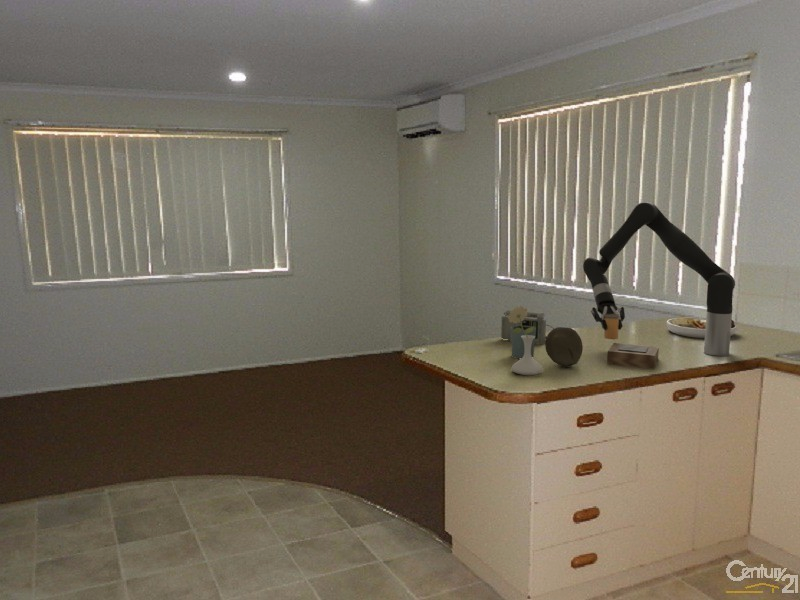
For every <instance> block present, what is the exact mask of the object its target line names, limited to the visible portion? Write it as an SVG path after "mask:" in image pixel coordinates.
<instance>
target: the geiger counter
mask: <svg viewBox="0 0 800 600" xmlns="http://www.w3.org/2000/svg"><path fill="white" fill-rule="evenodd" d="M511 311H512V310H509V309H508V310H506V311H505V312H504V313H503V314H504V315H502V316H501V327H500V328H501V333H500V335H501V336H500V338H503V339H508V340H511V327H512V326H521V322H522V326H532V327H533V326H534V327H535V328H536V333H535V340H534V344H535V343H540V344H539V345H545V340H546V337H547V336H546V333H547V330H546V329H547V327H550V328H552V330H553V329H555V327H553V326H552V325H549V324H547V319H546V318H545V312H541V311H537V312H531V311H527V312H528V313H527V316H526V318H525V319H524V320H523V321H521V322H518V323H513V322H512V323H511V322H509V319H508V316H509V314H510V312H511ZM503 339H500V340H501V341H504V340H503Z"/></svg>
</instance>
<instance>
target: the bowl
mask: <svg viewBox="0 0 800 600" xmlns="http://www.w3.org/2000/svg"><path fill="white" fill-rule="evenodd" d="M666 327H667V328H668V330H669V331H670V332H671V333H673V334H675V335H679V336H682V337H688V338H694V339H705V330H706V318H699V317H698V318H697V317H677V318H676V317H675V318H669V319H668V320H667V321H666ZM737 328H738V327H737V325H736V324H735V321H734V320H733V319H732V320H731V336H733V335H734V334H735V333H736V331H737ZM731 336H730V337H731Z"/></svg>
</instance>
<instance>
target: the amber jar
mask: <svg viewBox="0 0 800 600" xmlns="http://www.w3.org/2000/svg"><path fill="white" fill-rule="evenodd" d="M619 316H620V313H618V314H614V313H606V314H605V321H606V324H607V330H604V329H603V330H604V331H603V332H604V333H603V337H604V339H606V340H618V339H619V329H618V325H619Z"/></svg>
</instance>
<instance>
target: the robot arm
mask: <svg viewBox="0 0 800 600" xmlns="http://www.w3.org/2000/svg"><path fill="white" fill-rule="evenodd" d="M644 226H646V227H648V228H649V229H650V230H651V231H653V232H654V233H655V234H656V235H657V236H658V238H659V239H660V241H661V242H662V243H663V245H664V246H665V248H666V249H667V251H669V252H670V253H671V254H672V256H673V257H675V258H676V259H678V261H680V262H681V263H682V264H684V265H685V266H687V267H688V268H690V269H692V270H693V271H695V272H696V273H697V274H699V276H700V277H701V278H702V279H704V281H705V282H706V283H707V290H706V318H705V319H706V330H705V338H704V342H703V343H704V347H703V353H704V354H706V355H710V356H715V357H716V356H719V357H721V356H722V357H723V356H724V357H725V356H727V357H729V356H730V346H731V320H733V309H734V308H733V296H734V289H735V287H736V281H735V278H734V277H733V275H731V274H730V273H729V272H728V271H726V270H725V269H724V268H722V267H721V266H719V265H718V264H717V263H715V262H714V261H713V260H712V259H711V258H710V257H709V256H708V254H707V253H706V252H705V251H704V250H703V249H702V248H701V247H700V246H699V245H698V244H697V243H696V242H695V241H694V240H693V239H691V237H689V235H687V234H686V233H685V232H684V231H682V229H680V228H679V227H678V226H677V225H675V224H673V222H671V221H670V220H669V218H667V217H666V216H665V215H664V214H663V213H662V211H661V210H660V209H659V208H658V207H657V205H656V204H654V203H653V202H650V201H643V202H639V203H638V204H636V205H635V206H634V207H633V209H632V211H630V214H629V216H628V217H627V218H626V220H625V221H624V222H623V224H622V225H621V226H620V227H619V228H618V230H617V231H616V232H615V233H614V234H613V235H612V236H611V237H610V238H609V239H608V240H607V242H605V243H604V245H602V247H601V248H600V249H599V252H598V253H599V255H600V256H601V258H600V259H598V258H596V257H593V256H592V257H591V256H589V257H587V258H585V260H584V261H583V264H582V267H583V272H584V273H585V276H586V277H587V279H588V280H589V282H590V285H591V288H592V293H593V298H594V300H595V305H596V308H595V307H592V308H591V311H590V312H591V314H592V317H593V319H594V320H595V322H596V323H598V322H599V323H600V324H601V328H602V329H603V330H607V324H606V321H605V314H606V313H614V314H619V325H618V331H621V330H622V328H623V321H624V320H625V319H626V315H625V307H624V306H621V307H618V306H617V304H616V301H615V299H614V295H613V293H612V292H613V291H612V289H611V286H610V284H609V281H608V278H607V276H606V275H605V274H606V273H607V271H608V270H609V268H610V265H611V264H612V261H614V259H615V258H616V257H617V256H618V254H620V252H621V251H622V250H623V249H624V248H625V246H626V245H627V244H628V243H629V241H630V239H631V238H632V237H633V236H634V235H635V234H636V233H637V232H638V231H639V230H640V229H641V228H643V227H644ZM600 314H601V315H600Z"/></svg>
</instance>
